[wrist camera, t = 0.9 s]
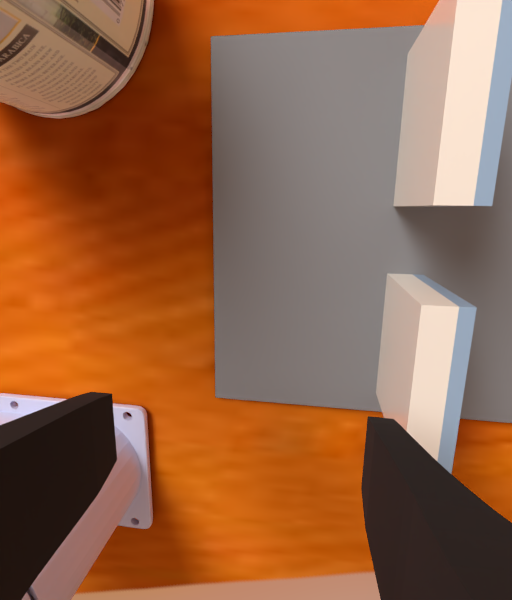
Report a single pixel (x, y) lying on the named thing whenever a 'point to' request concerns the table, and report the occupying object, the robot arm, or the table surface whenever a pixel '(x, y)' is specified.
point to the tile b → (455, 105)
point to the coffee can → (69, 52)
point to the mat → (337, 224)
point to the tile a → (424, 361)
